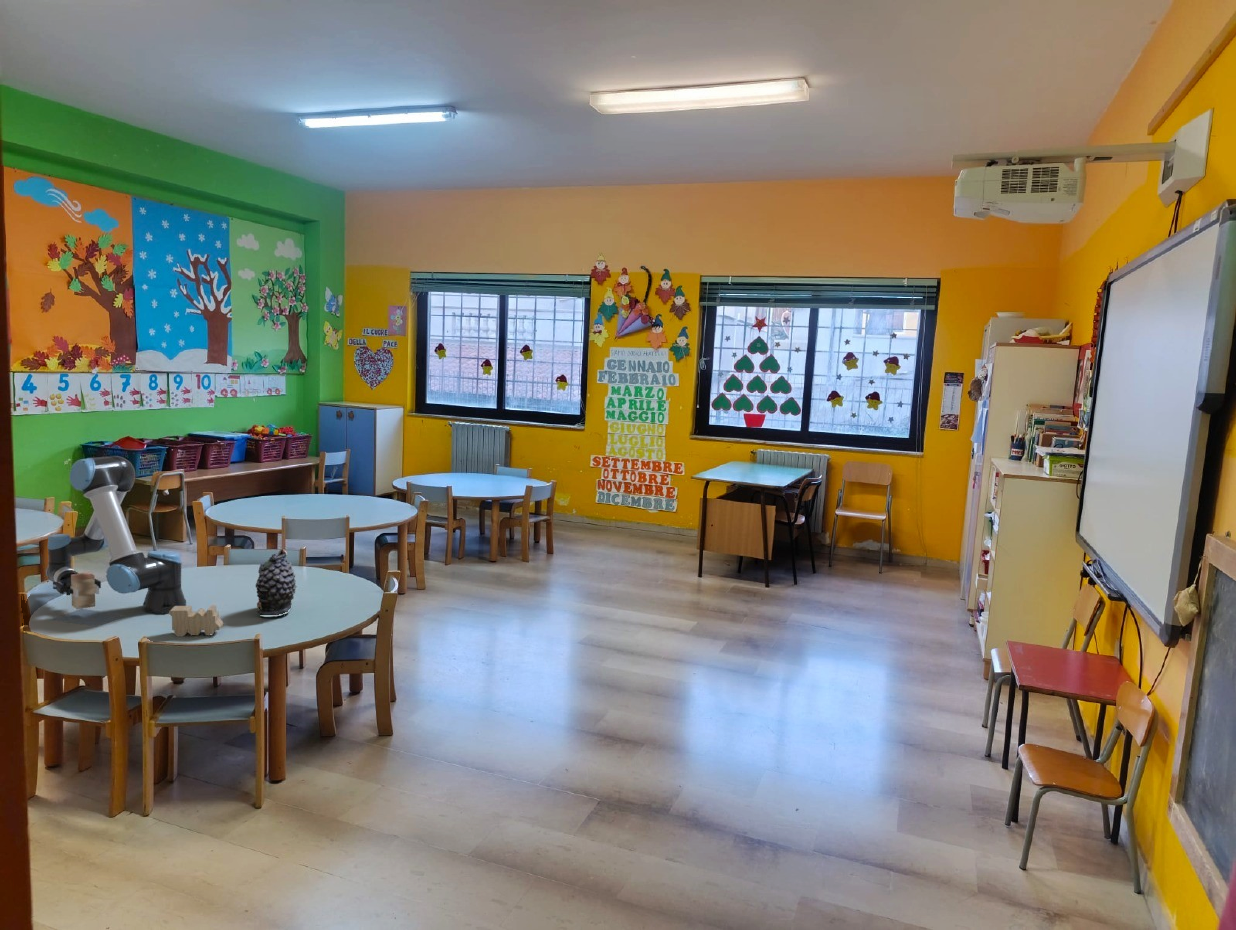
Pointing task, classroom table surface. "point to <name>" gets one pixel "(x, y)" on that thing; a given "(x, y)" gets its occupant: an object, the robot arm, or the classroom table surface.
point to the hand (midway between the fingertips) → (87, 591)
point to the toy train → (195, 620)
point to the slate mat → (88, 617)
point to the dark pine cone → (275, 585)
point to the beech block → (83, 590)
